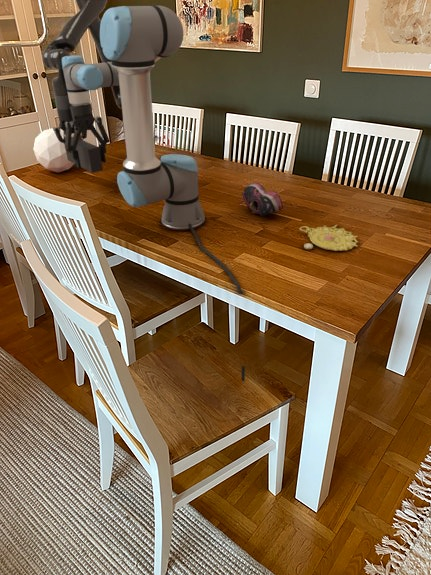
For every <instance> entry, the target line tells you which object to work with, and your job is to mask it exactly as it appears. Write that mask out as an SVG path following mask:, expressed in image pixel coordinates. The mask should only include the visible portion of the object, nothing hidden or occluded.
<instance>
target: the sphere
mask: <svg viewBox="0 0 431 575" xmlns="http://www.w3.org/2000/svg"><path fill="white" fill-rule="evenodd" d="M63 132H64V131H63V130H62V129H60V134H61V136H62V138H63ZM71 137H73V135H72V136H71ZM32 149H33V153H34V156H35V159H36V162H38V164H40V165H41V166H42V167H43V168H44V169H45V170H47V171H50V172H54V173H62V172H65V171H67V170H70V168H72V167H73V166H74V165H75V164H74V163H72V162H70V161H69V160H68V159H67V154H66V150H65V145H64V143H61V142H59V140H58V138H57V136H56V134H55V132H54V130H53V127H51V128H48V129H45V130H42V132H40V133H39V134H38V135H37V136H36V137H35V138H34V143H33V148H32Z"/></svg>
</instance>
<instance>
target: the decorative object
mask: <svg viewBox="0 0 431 575" xmlns="http://www.w3.org/2000/svg"><path fill="white" fill-rule="evenodd" d="M303 228H304V229H305V230H304V229H303ZM299 231H300V232H303V233H305V234H307V237H308V238H309V240H310V241H311V243H304V244H303V248H304V249H305V250H313V249H314V245H315V246H316V247H318V248H321V249H324V250H328V251H335V252H341V251H348V250H352V249H354V247H356V248H358V247H359V245H358V244H357V243H359V240H357V238H359V237H358V235H353V234H352V231H347V230H346V229H345V228H344V227H342V228H338V224H335V225H333V226H331V227H328V226H327V225H326V224H325V225H323V226H322V227H321V226H317V227H316V228H314V227H309V226H308V225H302V226H300V227H299ZM313 244H314V245H313Z"/></svg>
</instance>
